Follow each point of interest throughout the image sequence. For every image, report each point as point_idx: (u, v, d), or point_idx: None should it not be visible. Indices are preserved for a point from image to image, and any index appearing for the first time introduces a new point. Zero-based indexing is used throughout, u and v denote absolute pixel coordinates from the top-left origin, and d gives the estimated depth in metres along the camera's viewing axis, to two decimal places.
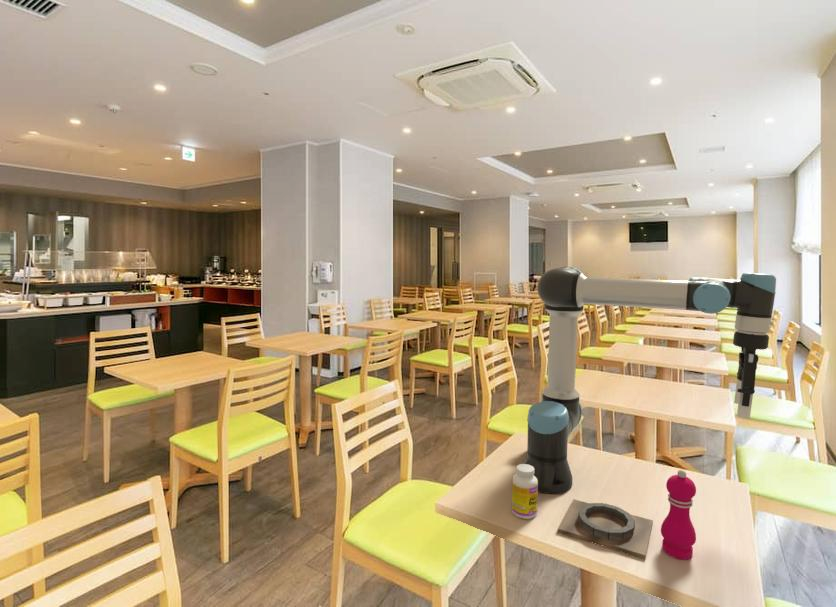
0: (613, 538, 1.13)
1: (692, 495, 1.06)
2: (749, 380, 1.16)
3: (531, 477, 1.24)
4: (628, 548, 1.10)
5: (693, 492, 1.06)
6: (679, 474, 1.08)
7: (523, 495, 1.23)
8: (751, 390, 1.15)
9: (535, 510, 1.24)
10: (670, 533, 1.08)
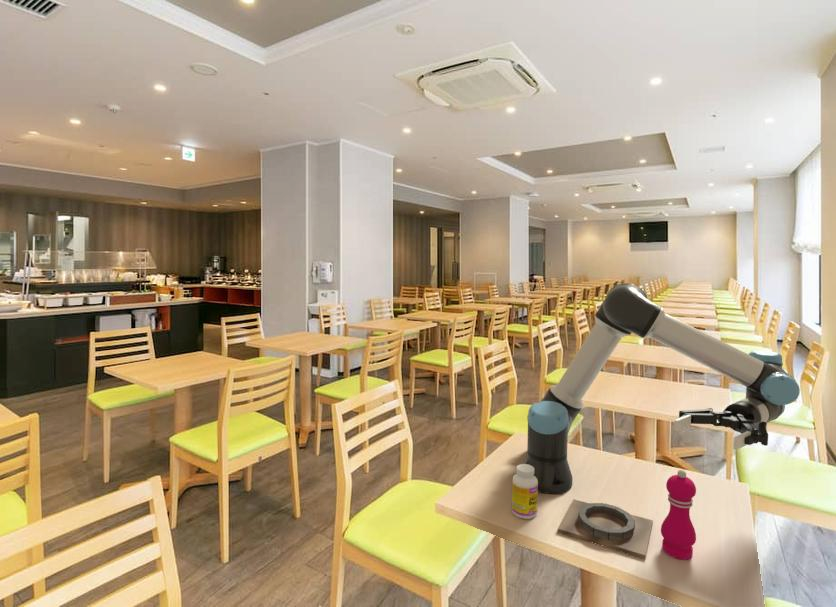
0: (613, 538, 1.13)
1: (692, 495, 1.06)
2: None
3: (531, 477, 1.24)
4: (628, 548, 1.10)
5: (693, 492, 1.06)
6: (679, 474, 1.08)
7: (523, 495, 1.23)
8: (767, 442, 1.08)
9: (535, 510, 1.24)
10: (670, 533, 1.08)
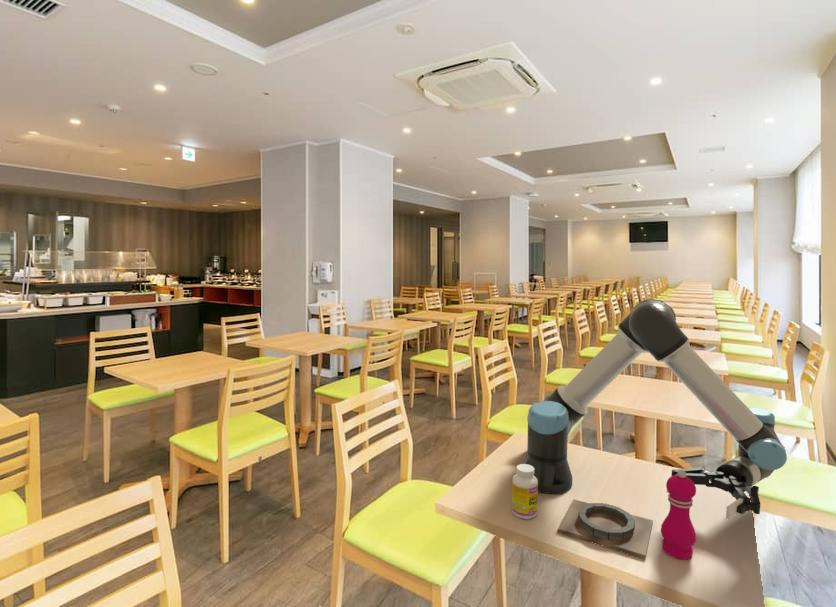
0: (613, 538, 1.13)
1: (692, 495, 1.06)
2: None
3: (531, 477, 1.24)
4: (628, 548, 1.10)
5: (693, 492, 1.06)
6: (679, 474, 1.08)
7: (523, 495, 1.23)
8: (759, 511, 1.08)
9: (535, 510, 1.24)
10: (670, 533, 1.08)
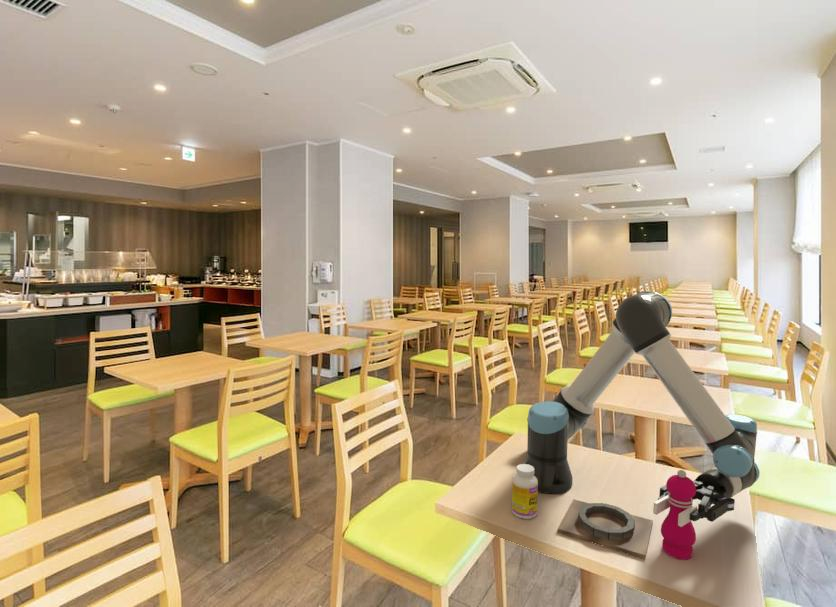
0: (613, 538, 1.13)
1: (692, 495, 1.06)
2: (718, 513, 1.06)
3: (531, 477, 1.24)
4: (628, 548, 1.10)
5: (693, 492, 1.06)
6: (679, 474, 1.08)
7: (523, 495, 1.23)
8: (713, 518, 1.05)
9: (535, 510, 1.24)
10: (670, 533, 1.08)
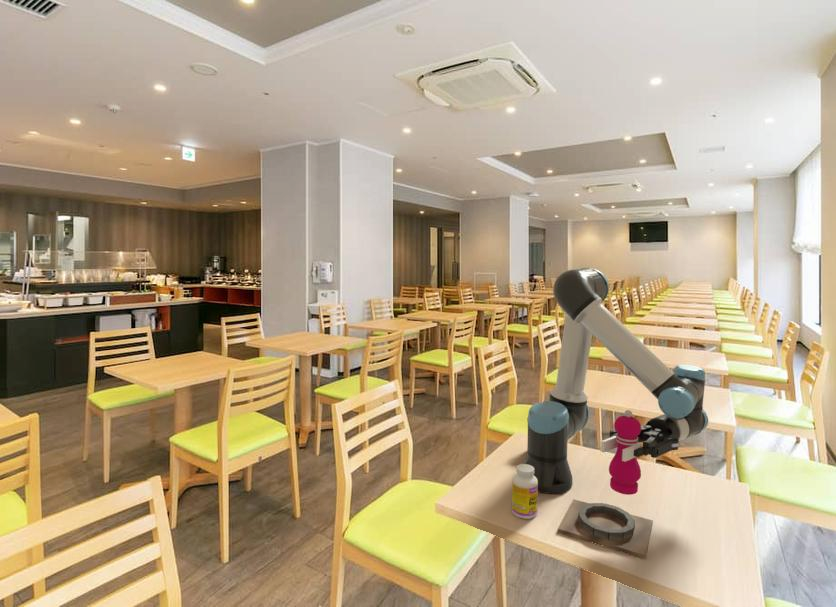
0: (613, 538, 1.13)
1: (637, 433, 1.11)
2: (661, 450, 1.12)
3: (531, 477, 1.24)
4: (628, 548, 1.10)
5: (638, 430, 1.11)
6: (625, 414, 1.13)
7: (523, 495, 1.23)
8: (656, 455, 1.11)
9: (535, 510, 1.24)
10: (617, 469, 1.13)
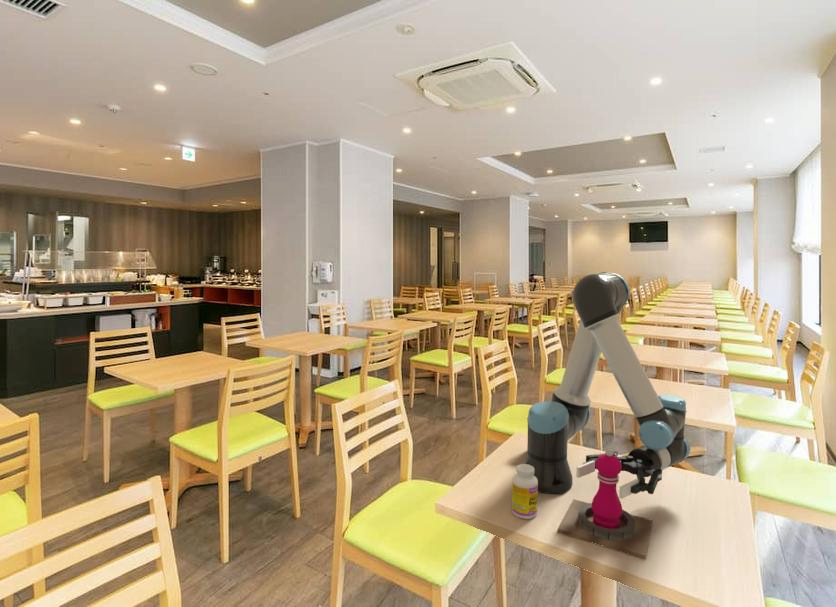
0: (613, 538, 1.13)
1: (617, 472, 1.15)
2: (655, 485, 1.14)
3: (531, 477, 1.24)
4: (628, 548, 1.10)
5: (618, 469, 1.15)
6: (606, 453, 1.16)
7: (523, 495, 1.23)
8: (653, 491, 1.12)
9: (535, 510, 1.24)
10: (598, 507, 1.17)
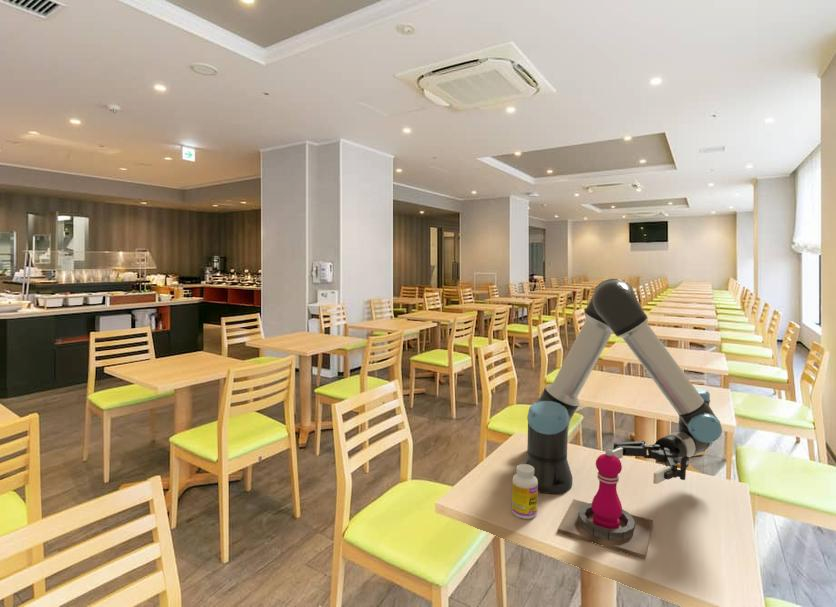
0: (613, 538, 1.13)
1: (617, 472, 1.15)
2: None
3: (531, 477, 1.24)
4: (628, 548, 1.10)
5: (618, 469, 1.15)
6: (606, 453, 1.17)
7: (523, 495, 1.23)
8: None
9: (535, 510, 1.24)
10: (598, 507, 1.17)
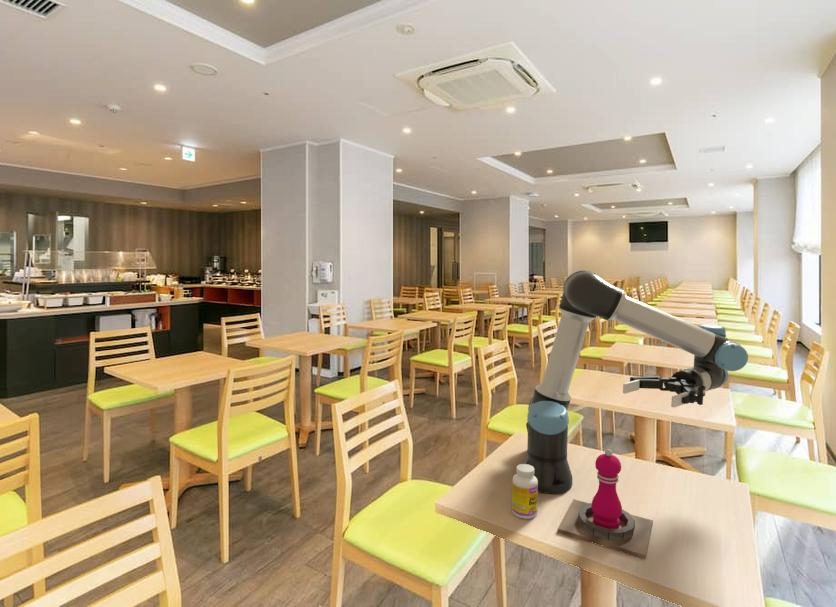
0: (613, 538, 1.13)
1: (616, 471, 1.15)
2: None
3: (531, 477, 1.24)
4: (628, 548, 1.10)
5: (617, 469, 1.15)
6: (606, 453, 1.17)
7: (523, 495, 1.23)
8: (702, 402, 1.20)
9: (535, 510, 1.24)
10: (598, 507, 1.17)
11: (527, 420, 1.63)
